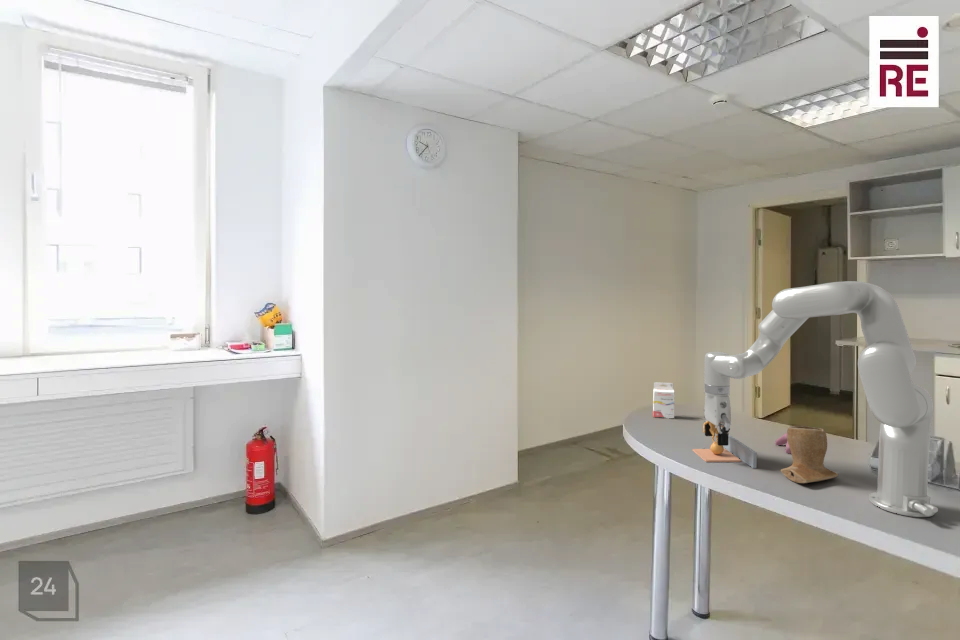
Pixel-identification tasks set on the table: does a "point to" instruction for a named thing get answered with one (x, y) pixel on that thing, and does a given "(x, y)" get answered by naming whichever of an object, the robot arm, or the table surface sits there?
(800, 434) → the stone cup
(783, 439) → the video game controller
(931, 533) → the table surface
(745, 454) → the low wall
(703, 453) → the board
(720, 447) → the figurine
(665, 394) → the ink cartridge box
